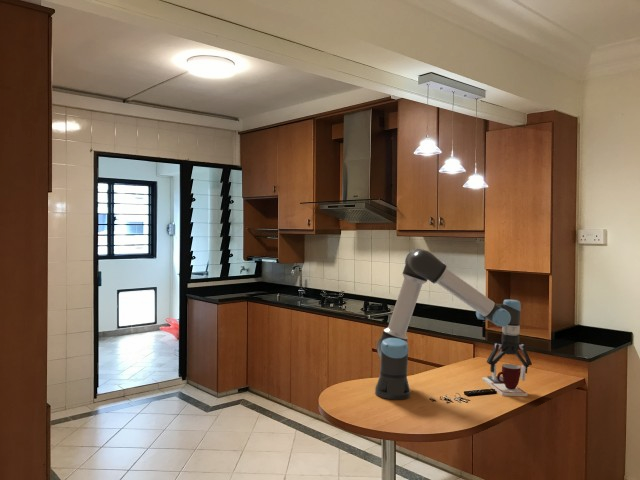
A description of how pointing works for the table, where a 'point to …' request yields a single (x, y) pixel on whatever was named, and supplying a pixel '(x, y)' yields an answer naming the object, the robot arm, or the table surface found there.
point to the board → (503, 387)
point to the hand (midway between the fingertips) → (508, 379)
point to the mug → (510, 375)
